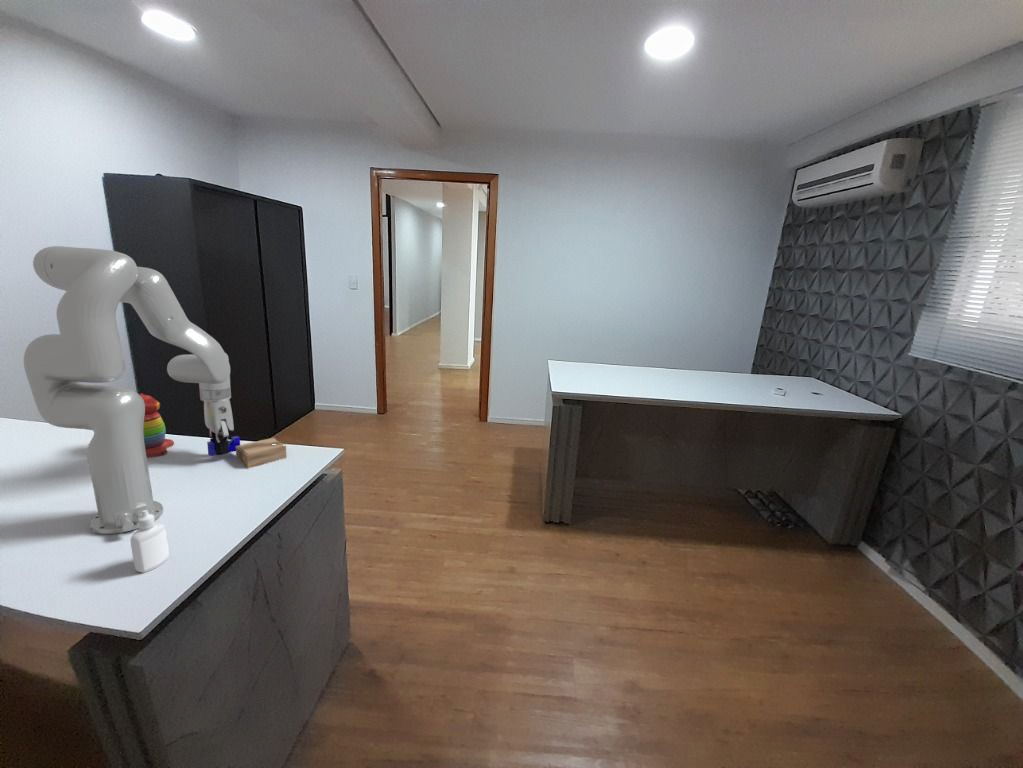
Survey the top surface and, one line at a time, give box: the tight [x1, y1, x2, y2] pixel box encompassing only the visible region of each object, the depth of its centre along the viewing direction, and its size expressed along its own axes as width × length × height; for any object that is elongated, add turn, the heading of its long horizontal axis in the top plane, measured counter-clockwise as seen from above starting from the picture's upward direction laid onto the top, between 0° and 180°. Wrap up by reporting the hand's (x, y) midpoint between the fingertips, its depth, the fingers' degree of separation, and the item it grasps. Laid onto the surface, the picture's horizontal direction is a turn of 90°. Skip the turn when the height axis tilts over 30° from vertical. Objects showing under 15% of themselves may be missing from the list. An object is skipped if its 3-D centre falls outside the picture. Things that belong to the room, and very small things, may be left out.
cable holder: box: [206, 435, 241, 457], centre depth 131 cm, size 8×4×4 cm, turn 142°
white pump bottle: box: [130, 510, 171, 574], centre depth 85 cm, size 4×6×12 cm
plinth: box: [235, 437, 287, 469], centre depth 133 cm, size 9×11×4 cm
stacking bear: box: [139, 393, 175, 458], centre depth 131 cm, size 11×10×18 cm
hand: (220, 451), depth 131 cm, fingers closed on cable holder, 3 cm apart
